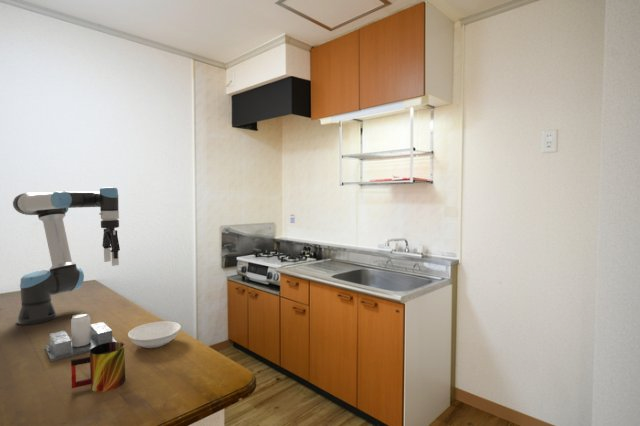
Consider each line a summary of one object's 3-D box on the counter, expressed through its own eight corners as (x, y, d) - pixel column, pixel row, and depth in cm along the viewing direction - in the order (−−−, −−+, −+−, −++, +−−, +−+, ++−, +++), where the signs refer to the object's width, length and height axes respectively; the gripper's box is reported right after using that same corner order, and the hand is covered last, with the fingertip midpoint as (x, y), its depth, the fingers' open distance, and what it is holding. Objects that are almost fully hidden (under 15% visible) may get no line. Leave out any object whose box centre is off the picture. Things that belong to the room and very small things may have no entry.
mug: (70, 391, 111) (69, 354, 110) (117, 373, 122) (116, 339, 122) (83, 401, 105) (82, 362, 105) (130, 381, 117) (129, 346, 116)
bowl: (191, 338, 151) (191, 324, 151) (156, 359, 133) (155, 342, 132) (154, 332, 158) (154, 318, 158) (116, 351, 139) (115, 335, 139)
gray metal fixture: (45, 348, 142) (44, 334, 142) (106, 333, 158) (106, 320, 157) (51, 361, 131) (50, 346, 131) (117, 343, 146) (116, 330, 146)
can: (88, 346, 142) (87, 317, 141) (69, 348, 140) (68, 318, 139) (93, 340, 148) (92, 311, 148) (75, 342, 146) (74, 313, 146)
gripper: (94, 218, 175) (96, 260, 177) (108, 221, 158) (109, 268, 159) (111, 218, 181) (112, 259, 182) (126, 220, 163) (127, 265, 164)
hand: (111, 263), depth 170 cm, fingers open, 13 cm apart
